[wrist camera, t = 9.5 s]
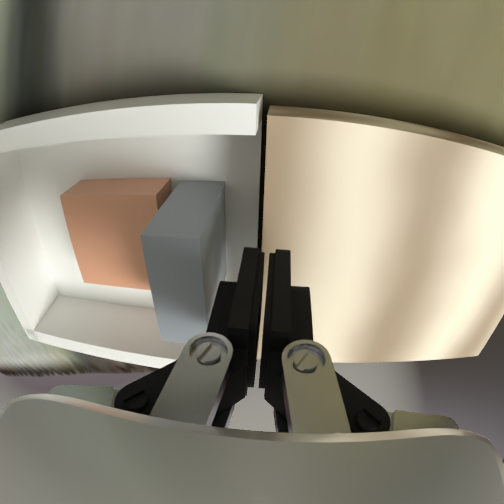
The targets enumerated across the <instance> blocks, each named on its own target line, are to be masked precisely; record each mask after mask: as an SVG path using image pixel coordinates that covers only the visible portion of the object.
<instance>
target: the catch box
mask: <svg viewBox="0 0 504 504" xmlns="http://www.w3.org/2000/svg"><path fill="white" fill-rule="evenodd" d="M262 110H263V94H257V93H195V94H173V95H158V96H146V97H135V98H126V99H117V100H110V101H102V102H95V103H89V104H83V105H77V106H71V107H66V108H61V109H56V110H51V111H46V112H41V113H37V114H33V115H28V116H24V117H20V118H16V119H13V120H9V121H6V122H3V123H1V124H0V282H1V284H2V286H3V289H4V291H5V293H6V295H7V297H8V299H9V301H10V303H11V305H12V307H13V309H14V311H15V313H16V315H17V317H18V319H19V321H20V323H21V325H22V327H23V328H24V330H25V332H26V334H27V336H28V337H29V339H32V340H35V341H39V342H42V343H46V344H49V345H53V346H57V347H61V348H65V349H68V350H72V351H76V352H81V353H85V354H89V355H94V356H98V357H103V358H107V359H112V360H117V361H122V362H127V363H132V364H138V365H143V366H149V367H155V368H162V367H164V366H166V365H168V364H170V363H172V362H174V361H176V360H178V358H179V356H180V354H181V352H182V350H183V348H184V346H185V344H184V343H176V342H168V341H162V337H161V333H160V329H159V325H158V321H157V316H156V312H155V308H154V303H153V299H152V294H151V290H144V289H135V288H125V287H117V286H108V285H99V284H91V283H84V281H83V278H82V275H81V272H80V269H79V266H78V263H77V259H76V256H75V253H74V249H73V246H72V242H71V239H70V235H69V232H68V228H67V224H66V220H65V216H64V212H63V208H62V204H61V199H60V195H61V194H63V193H64V192H65V191H67V190H68V189H69V188H71V187H72V186H73V185H75V184H76V183H77V182H79V181H80V180H89V179H118V178H171V187H172V192H173V190H174V189H175V188H176V187H177V185H178V184H179V183H180V182H181V180H194V181H225V215H226V262H227V274H226V279H225V281H231V282H237V279H238V274H239V269H240V264H241V260H242V255H243V250H244V247H253V248H258V223H259V196H260V168H261V139H262Z"/></svg>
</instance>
